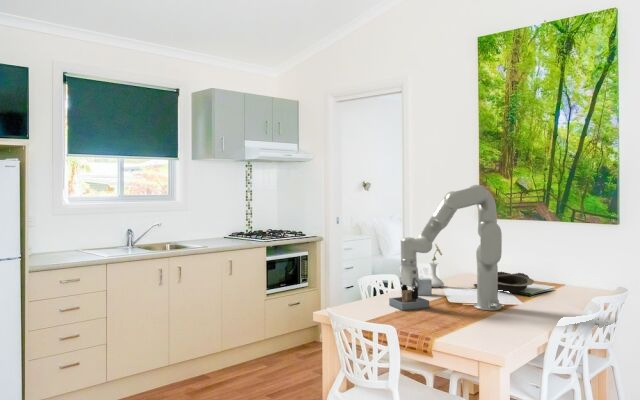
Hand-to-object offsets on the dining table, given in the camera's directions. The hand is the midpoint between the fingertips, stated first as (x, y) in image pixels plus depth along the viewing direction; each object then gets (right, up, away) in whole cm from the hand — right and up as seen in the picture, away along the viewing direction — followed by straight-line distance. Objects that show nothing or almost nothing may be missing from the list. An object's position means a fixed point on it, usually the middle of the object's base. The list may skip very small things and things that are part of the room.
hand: (409, 297), depth 263 cm
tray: (0, -5, 0) cm, 5 cm away
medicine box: (+12, -4, +26) cm, 29 cm away
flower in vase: (+22, -3, +48) cm, 53 cm away
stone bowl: (+61, -3, +32) cm, 69 cm away
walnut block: (0, -4, 0) cm, 4 cm away
